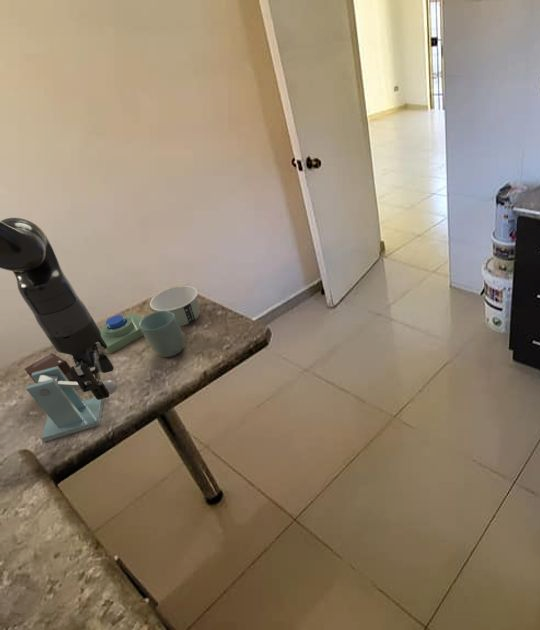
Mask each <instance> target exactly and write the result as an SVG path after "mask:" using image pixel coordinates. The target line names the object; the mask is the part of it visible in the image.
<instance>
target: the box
mask: <svg viewBox="0 0 540 630" xmlns="http://www.w3.org/2000/svg"><path fill="white" fill-rule="evenodd" d="M56 366H58V367H59V368H60V369H61V371H62V372H63V374H64V375H65V376H66V378H67V379H68V380H69V381H70V382H77V381H76V380H75V378H74V377H73V375H72V373H71V372H70V367H71V366H70V365H69V363H68V362H67V361H66V360H65V359H63V358H61V357H60V356H58V355H57V354H55V353H53V352H52V353H50V354H48V355H46V356H45V357H42V358H41V359H39V360H37V361H35V362H33V363H32V364H30V365H28V366H26V367H24V371H25V372H26V373H27V374H28V376H29V377H30V378H31V379H32V380H33V382H34V384H36V383H37V382H36V381H35V380H34V379H33V377H32V376H31V375H32V373H34V372H37V371H41V370H45V369H49V368H52V367H56Z"/></svg>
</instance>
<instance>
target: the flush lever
mask: <svg viewBox="0 0 540 630" xmlns="http://www.w3.org/2000/svg"><path fill="white" fill-rule="evenodd" d="M51 379H55V381H56V382H57V383H58V385H59V386H60V387H61V388H70V389H75V390H82V389H81V387H80V386H79V384H78V383H77V382H70V381H58V376H48V375H40V377H39V380H38V383H40V382H44V381H47V380H51ZM102 382H103V384H104V385H105V387H106V389H107V390H108V392H109V396H110V395H111V396H112V395H113V394H115V393H116V392H117V390H118V383H117V381H115V380H113V379H105V380H103V381H102Z"/></svg>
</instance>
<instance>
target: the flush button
mask: <svg viewBox="0 0 540 630" xmlns="http://www.w3.org/2000/svg"><path fill="white" fill-rule="evenodd" d="M123 316H124V315H121V314H118V315H113V316H111V317H109V318H108V319H106V321H105V323H106V324H107V326H108V327H109V329H117V328H120V327H122V326H124V325H125V324H126V321H125V319H124V317H123Z"/></svg>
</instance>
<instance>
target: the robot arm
mask: <svg viewBox="0 0 540 630" xmlns="http://www.w3.org/2000/svg"><path fill="white" fill-rule="evenodd" d="M0 269H2V270H5V271H10V272H12V273H13V274H14V277H15V279H16V283H17V289H18V292H19V294H20V296H21V297H22V299H23V300H24V302H25V304H26V305H27V306H28V308H29V309H30V311H31V312H32V314H33V315H34V318H35V321H36V322H37V324H38V325H39V327H40V328H41V330H42V331H43V333H44V334H45V335H46V337H47V339H48V340H49V341H50V343H51V345H52V346H53V348H54V349H55V350H56V351H57V352H58V353H60V354H66V355H70V356H71V359H72V363H73V364H74V365H75V366H70V372H71V373H72V375H73V377H74V378H75V380H76V381H77V383H78V384H79V386H80V387H81V389H80V390H81V391H82V392H83V393H87V392H91V393H92V394H93V396H94V398H96V399H98V400H101V399H104V400H105V399H107V398H110V395H109V392H108V390H107V389H106V387H105V385H104V384H103V381H102V378H101V375H100V374H101V373H103V374H107V373H110V372H113V371H114V368H115V367H114V365H113V364H112V361H111V360H110V358H109V357H108V355H109V353H107V351H106V350H105V349H107V345H106V343H105V342H104V340H103V339H102V337H101V332H100V330H101V329H100V328H99V327H98V324H97V323H96V321H95V319H94V318H93V316H92V314H91V313H90V311H89V310H88V308H87V306H86V305H85V303H84V302H83V301H82V299H80V297H79V296H78V294H77V293H76V291H75V288H73V286H72V284H71V283H70V281H69V279H68V278H67V276H66V275H65V274H64V272H63V269H62V268H61V265H60V263H59V260H58V258H57V256H56V253H55V251H54V248H53V247H52V244H51V243H50V240H49V239H48V237H47V235H46V234H45V232H44V231H43V230H42V229H41V228H40V227H39V225H37V224H36V223H34V222H32V221H30V220H28V219H25V218H20V217H7V218H5V219H2V220H0ZM96 342H99V343H100V344H99V343H96ZM93 368H94V369H93ZM91 369H92V370H91Z"/></svg>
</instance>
